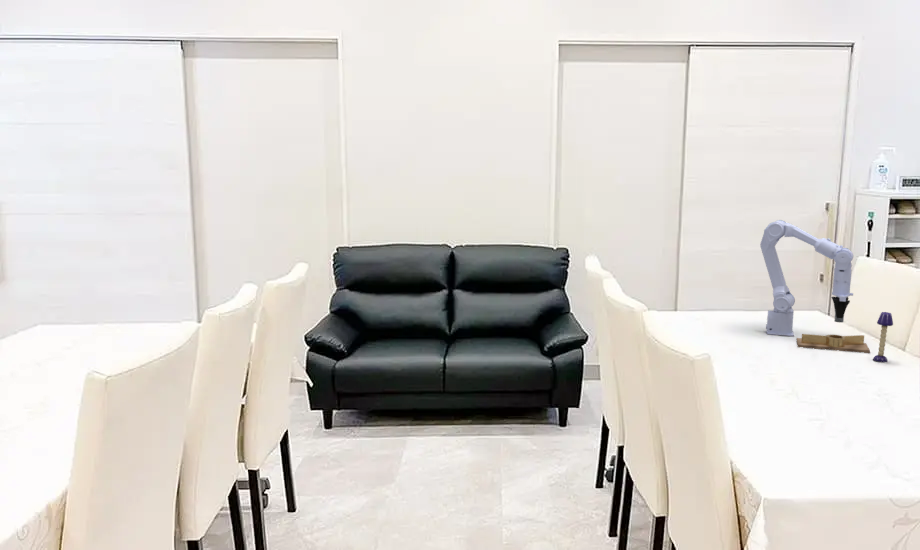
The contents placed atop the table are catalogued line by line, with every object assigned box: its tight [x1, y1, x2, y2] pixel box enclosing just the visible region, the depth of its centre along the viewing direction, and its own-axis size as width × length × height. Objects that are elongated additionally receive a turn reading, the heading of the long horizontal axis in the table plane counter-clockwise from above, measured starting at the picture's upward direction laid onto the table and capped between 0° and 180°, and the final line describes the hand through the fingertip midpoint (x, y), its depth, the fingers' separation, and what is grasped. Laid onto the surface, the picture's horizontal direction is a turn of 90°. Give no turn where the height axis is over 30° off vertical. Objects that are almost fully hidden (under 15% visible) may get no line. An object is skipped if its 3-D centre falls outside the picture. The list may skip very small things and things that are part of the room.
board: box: [796, 337, 871, 354], centre depth 265 cm, size 23×10×1 cm, turn 68°
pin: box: [834, 309, 845, 323], centre depth 272 cm, size 3×3×7 cm
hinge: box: [801, 333, 865, 348], centre depth 264 cm, size 21×9×3 cm, turn 68°
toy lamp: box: [872, 311, 894, 363], centre depth 245 cm, size 5×5×17 cm
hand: (839, 317), depth 273 cm, fingers closed on pin, 3 cm apart
